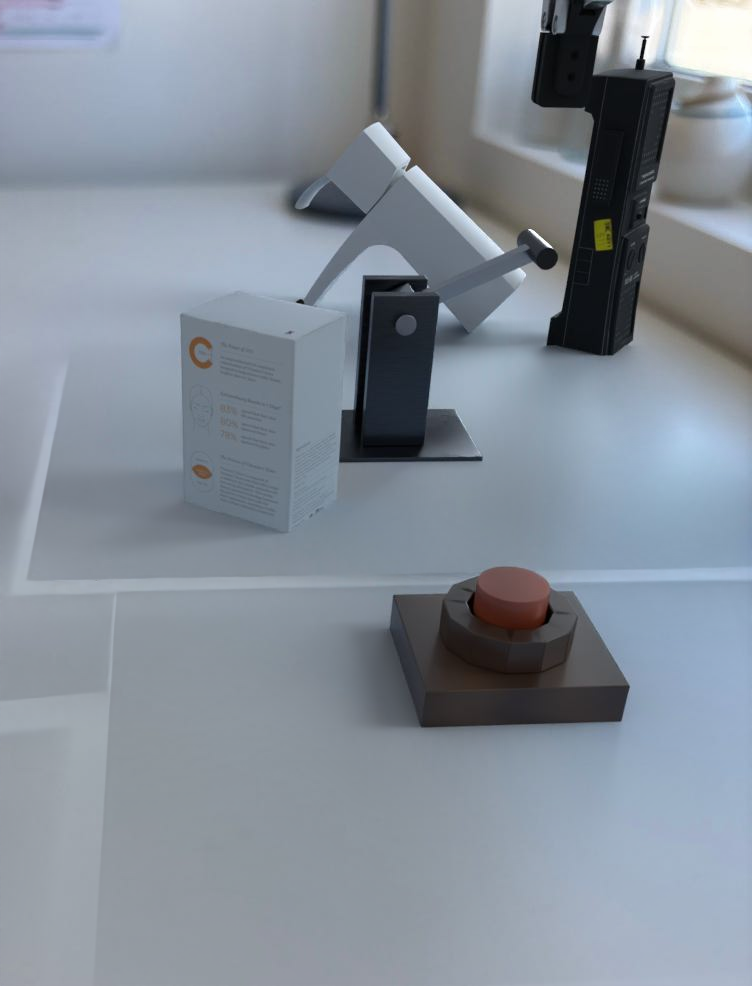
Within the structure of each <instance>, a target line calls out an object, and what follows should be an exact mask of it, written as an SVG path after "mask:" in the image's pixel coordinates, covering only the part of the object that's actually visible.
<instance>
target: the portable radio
mask: <svg viewBox="0 0 752 986" xmlns="http://www.w3.org/2000/svg"><path fill="white" fill-rule="evenodd" d="M650 36H651V35H640V38H642V42H641V46H640V47H641V48H640V53H639V58H637V59H636V60H635V67H634V68H633V67H632V68H615V69H610V70H607V71H603V72H599V73H595V74H593V77H592V83H591V89H590V95H589V101H588V104H587V106H585V107H584V110H583V112H586V113H588V114H591V117H592V120H593V124H592V130H591V137H590V142H589V148H588V154H587V160H586V165H585V170H584V171H585V172H584V178H583V184H582V190H581V196H580V201H579V208H578V214H577V219H576V226H575V230H574V237H573V242H572V248H571V254H570V261H569V267H568V273H567V278H566V285H565V290H564V295H563V300H562V306H561V310H560V311H558V312H557V313H556V314H554V315H552V316H551V317H550V319H549V325H548V330H547V331H548V332H547V338H546V346H548V347H549V346H550V347H551V346H552V347H554V346H555V347H559V348H564V349H567V350H568V349H570V350H574V351H577V352H581V353H588V354H591V355H595V356H600V357H601V356H602V357H605V356H609V357H610V356H611V357H612V356H614V355H615V354H617V353H618V352H619V351H621V350H622V349H623V348H625V347H626V346H628V345H629V344H631V343H632V342H633V341H634V333H635V327H636V325H635V324H636V317H637V309H638V301H639V296H640V289H641V283H642V276H643V270H644V266H645V258H646V254H647V248H648V242H649V241H648V240H649V235H650V229H651V226H650V225H649V224H648V223H647V217H648V211H649V205H650V200H651V195H652V190H653V184H654V183H655V182H656V181H657V179H658V175H659V170H660V165H661V159H662V155H663V150H664V145H665V139H666V134H667V129H668V124H669V119H670V113H671V108H672V103H673V99H674V98H673V97H674V93H675V89H676V79H675V78H674V73H673V72H672V71H666V70H664V71H663V70H656V69H655V70H654V69H645V65H646V59H644V56H645V51H646V46H647V41H648V40H647V39H649V38H650Z"/></svg>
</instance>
